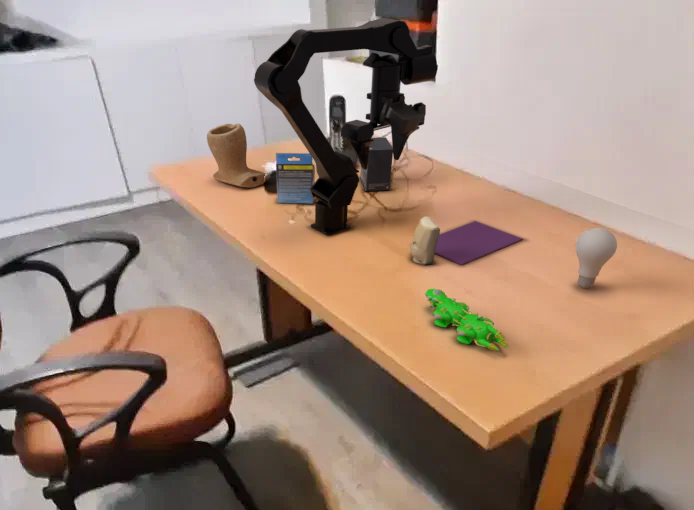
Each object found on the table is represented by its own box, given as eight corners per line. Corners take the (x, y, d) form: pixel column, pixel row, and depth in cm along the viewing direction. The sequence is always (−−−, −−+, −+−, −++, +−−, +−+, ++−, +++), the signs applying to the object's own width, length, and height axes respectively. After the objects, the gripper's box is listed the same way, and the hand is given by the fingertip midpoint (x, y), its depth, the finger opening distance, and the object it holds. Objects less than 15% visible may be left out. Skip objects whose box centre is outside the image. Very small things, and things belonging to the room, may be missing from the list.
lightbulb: (571, 276, 113) (585, 219, 107) (608, 285, 110) (625, 226, 104) (560, 290, 110) (575, 231, 104) (598, 299, 106) (616, 240, 100)
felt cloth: (461, 265, 120) (461, 264, 119) (415, 245, 128) (415, 243, 128) (522, 239, 127) (522, 238, 127) (475, 222, 136) (475, 221, 136)
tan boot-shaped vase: (202, 182, 169) (196, 125, 160) (236, 171, 175) (232, 116, 166) (237, 195, 158) (233, 136, 150) (272, 183, 164) (270, 125, 156)
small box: (391, 190, 155) (394, 148, 149) (365, 192, 155) (367, 149, 149) (384, 176, 163) (387, 135, 157) (359, 177, 164) (361, 137, 158)
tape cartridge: (315, 198, 153) (315, 148, 147) (313, 204, 150) (313, 153, 143) (279, 197, 156) (278, 148, 149) (276, 203, 152) (275, 153, 146)
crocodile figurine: (441, 300, 109) (444, 278, 107) (518, 351, 95) (524, 327, 93) (410, 309, 107) (412, 287, 105) (484, 363, 93) (488, 339, 91)
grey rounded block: (444, 259, 122) (449, 221, 118) (428, 268, 119) (433, 229, 115) (419, 251, 126) (423, 213, 121) (403, 260, 123) (407, 222, 119)
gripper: (378, 103, 117) (374, 184, 125) (449, 86, 124) (439, 163, 133) (340, 94, 125) (337, 170, 133) (408, 78, 133) (402, 152, 141)
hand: (380, 164), depth 135 cm, fingers open, 9 cm apart
